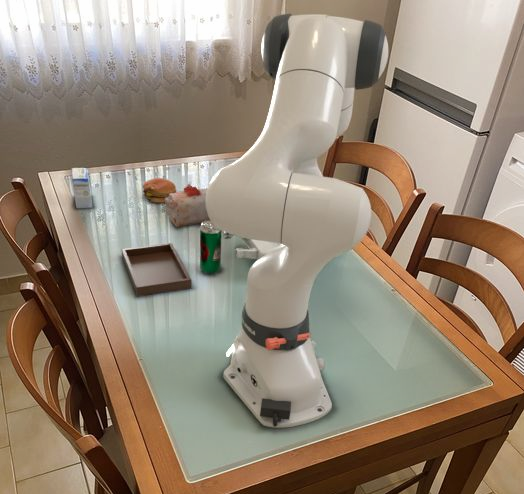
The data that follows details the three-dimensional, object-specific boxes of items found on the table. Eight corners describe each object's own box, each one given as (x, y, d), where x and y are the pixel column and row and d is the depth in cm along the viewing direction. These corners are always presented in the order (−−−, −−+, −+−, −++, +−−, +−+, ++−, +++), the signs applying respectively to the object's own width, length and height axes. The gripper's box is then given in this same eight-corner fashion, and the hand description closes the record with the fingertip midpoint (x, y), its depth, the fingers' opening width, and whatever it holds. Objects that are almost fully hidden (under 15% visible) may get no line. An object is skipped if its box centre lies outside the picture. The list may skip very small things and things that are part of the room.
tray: (191, 288, 123) (191, 279, 122) (137, 296, 119) (136, 287, 118) (172, 251, 135) (171, 242, 134) (122, 257, 131) (121, 249, 130)
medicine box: (75, 197, 155) (70, 167, 149) (91, 196, 156) (87, 167, 151) (76, 208, 149) (71, 179, 144) (92, 207, 151) (88, 178, 145)
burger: (178, 191, 163) (178, 176, 160) (173, 204, 156) (173, 189, 153) (146, 189, 163) (145, 174, 160) (140, 202, 156) (138, 186, 153)
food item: (173, 230, 144) (172, 196, 138) (164, 217, 149) (162, 184, 143) (220, 223, 149) (221, 189, 143) (209, 211, 155) (209, 178, 148)
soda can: (217, 276, 128) (218, 231, 120) (197, 272, 129) (197, 227, 121) (222, 265, 132) (224, 221, 124) (203, 262, 132) (203, 218, 125)
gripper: (267, 207, 137) (216, 212, 133) (300, 245, 123) (245, 252, 119) (265, 229, 141) (216, 235, 137) (297, 268, 127) (243, 276, 123)
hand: (229, 243), depth 128 cm, fingers open, 8 cm apart
